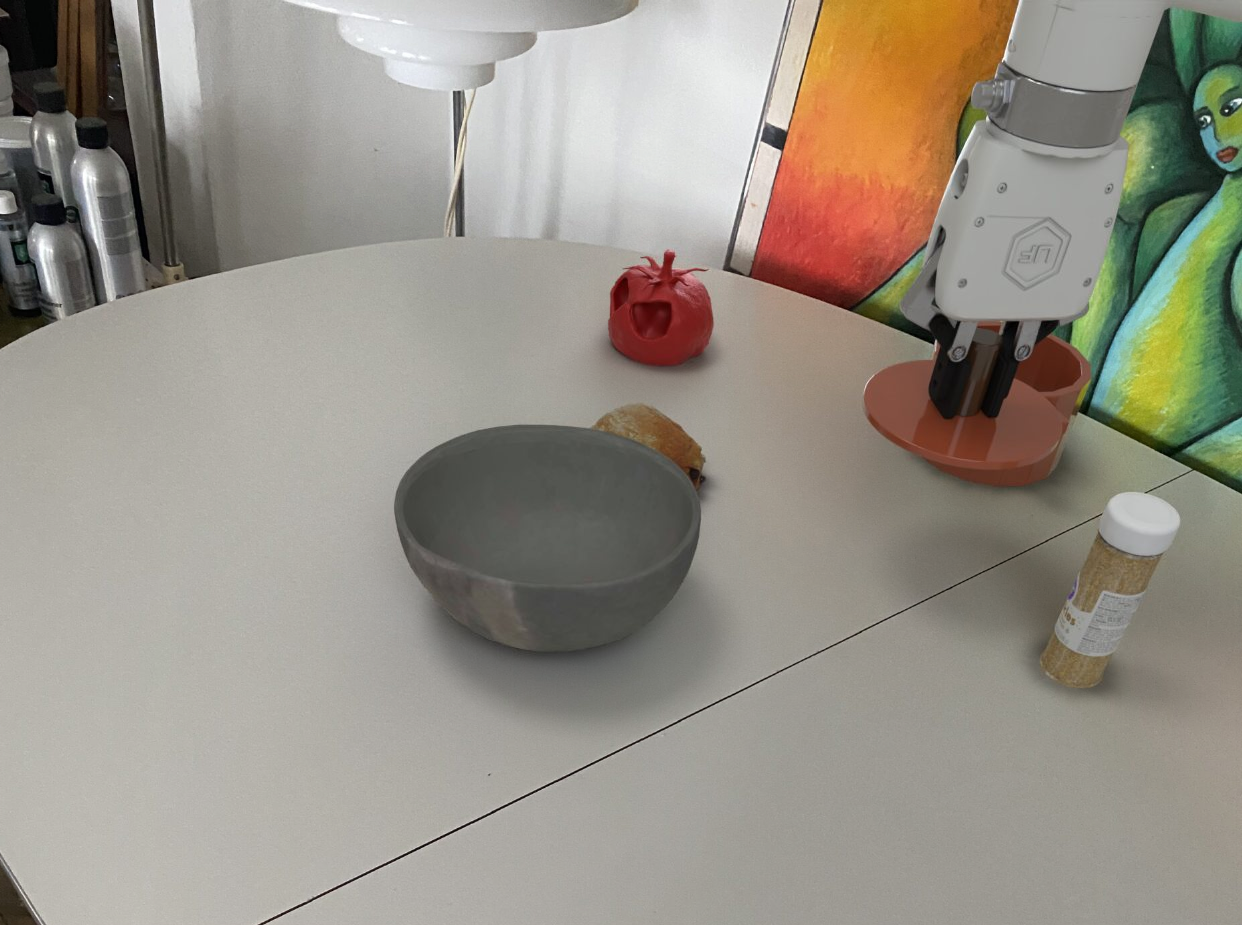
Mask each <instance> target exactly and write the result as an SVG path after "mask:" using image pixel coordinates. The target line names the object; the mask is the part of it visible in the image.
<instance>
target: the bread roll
mask: <svg viewBox="0 0 1242 925" xmlns="http://www.w3.org/2000/svg"><path fill="white" fill-rule="evenodd" d="M589 429H594V430H600V431H604V432H609V433H613V434H616V435H620V436H623V437H626V438H629V439H632V440H635V441H637V442H640V443H642V444H644V445H646V446H649V447H650V448H652V449H654V450H656V451H658V452H660V453H661V454H663V455H664V456H666V457H668V458H669V459H671V460H672V461H673V462H674V463H675V464H677V465H678V466H679V467H680V468H681V469H682V470H683V472H684V473H685V474H686V475H687V476H688V477H689V479H690V480H691V482H692V483H693V485H694V487H695V489H696V491H697V492H698V490H699V489H700V486H701V485H702V484H703V483H705V482H706V476H704V475H702V471H703V468H704V464H705V463H706V462H707V459H706V456H705V455H704V454H703V453H702V450H703V447H702V446H701V445H699V443H698V442H697V441H696V440H695V439H694V438H693V437H692V436H690V435H689V434H688V432H686V431H685V430H684V429H683V427H682V426H681V425H680V424H678V423H677V422H675V421H674V420H672V419H671V418H670V417H668V416H667V415H666V414H664V413H663V412H661V411H660V410H658V409H657V408H656V407H654V406H653V405H651V404H646V403H640V402H639V403H629V404H625V405H622V406H620V407H617V408H614V409H612V410H610V411H608V412H606V413H604V414H603V415H602V416H601V417H600V418H599V419H598V420H597V421H596V422H595V424H594V425H591V427H589Z"/></svg>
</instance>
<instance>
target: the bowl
mask: <svg viewBox="0 0 1242 925" xmlns="http://www.w3.org/2000/svg"><path fill="white" fill-rule="evenodd" d="M393 502H394V503H393V511H394V519H395V525H396V529H397V530H396V531H397V534H398V538H399V541H400V544H401V548H402V550H403V553H404V556H405V557H406V560H407V562H408V564H409V567H410V568H411V570H412V571H413V573H414V575H415V577H416V578H417V579H418V580H419V582H420V583H421V585H422V586H423V587H424V589H425V590H426V591H427V592H428V593H429V594H430V595H431V596H432V598H433V599H434V601H436V602H437V604H438V605H439V606H440V607H441V608H442V609H443V610H444V611H445V612H447V614H449V615H450V616H451V617H452V618H453V619H454V620H455V621H457V622H458V623H459V624H460V625H462V626H463V627H465V628H467V629H469V630H470V631H471V632H473V633H475V634H477V635H479V636H481V637H483V638H485V639H487V640H489V641H491V642H496V643H499V644H502V645H505V646H508V647H510V648H511V647H512V648H515V649H520V650H523V651H524V650H525V651H526V650H527V651H534V652H547V653H548V652H549V653H550V652H551V653H552V652H553V653H557V652H558V653H559V652H572V651H580V650H584V649H585V650H587V649H593V648H597V647H600V646H604V645H607V644H610V643H613V642H616V641H619V640H621V639H624V638H627V637H628V636H630V635H632V634H633V633H636V632H637V631H638V630H640V629H641V628H643V627H644V626H646V625H648V623H650V622H651V621H653V619H654V618H656V617H657V616H658V615H659V614H660V613H661V612H662V611H664V609H665V608H666V607H667V605H668V604H669V603H670V602H671V600H672V599H673V598H674V596H675V595H676V594H677V592H678V591H679V590H680V588H681V586H682V584H683V583H684V580H685V579H686V577H687V575H688V573H689V571H690V568H691V566H692V563H693V560H694V557H695V554H696V551H697V548H698V543H699V540H700V533H701V532H700V531H701V523H702V507H701V501H700V496H699V494H698V490H697V491H696V489H695V487H694V485H693V483H692V482H691V480H690V479H689V477H688V476H687V475H686V474H685V473H684V472H683V470H682V469H681V468H680V467H679V466H678V465H677V464H675V463H674V462H673V461H672V460H671V459H669V458H668V457H666V456H664V455H663V454H661V453H660V452H658V451H656V450H654V449H652V448H650V447H649V446H646V445H644V444H642V443H640V442H637V441H635V440H632V439H629V438H626V437H623V436H620V435H616V434H613V433H609V432H604V431H600V430H594V429H590V427H589V428H588V427H582V426H581V427H580V426H570V425H557V424H511V425H501V426H493V427H488V428H483V429H477V430H473V431H471V432H467V433H464V434H461V435H458V436H455V437H453V438H451V439H449V440H447V441H444V442H442V443H441V444H438V445H436V446H435V447H433V448H432V449H430V450H428V451H426V452H425V453H424V454H422V455H421V456H420V457H419V458H418V459H417V460H416V461H415V462H413V464H412V465H410V467H409V468H408V469H407V470H406V471H405V472H404V475H402V477H401V479H400V480H399V482H398V486H397V487H396V493H395V496H394V500H393Z"/></svg>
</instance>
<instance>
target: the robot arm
mask: <svg viewBox="0 0 1242 925" xmlns="http://www.w3.org/2000/svg"><path fill="white" fill-rule="evenodd" d="M1016 7H1017V8H1016V11H1015V15H1014V19H1013V22H1012V26H1011V29H1010V32H1009V35H1008V36H1009V37H1008V40H1007V43H1006V47H1005V50H1004V54H1003V58H1002V60H1001V61H1000V62H998V65H997V68H996V70H995V75H994V78H989V79H988V81H984V80H983V81H982V80H981V81H980V80H979V81H976V83H975V84H974V86H973V88H972V92H971V96H970V97H971V98H970V100H971V101H970V102H971V107H972V108H973V109H974V110H983V111H984V114H985V115H986V117H985V119H980V120H977V121H975V124H973V127H972V129H971V130H970V133H969V135H968V137H967V139H966V141H965V143H964V145H963V147H962V149H961V152H960V153H959V156H958V158H957V160H956V163H955V165H954V168H953V171H952V173H951V175H950V177H949V180H948V182H947V185H946V187H945V190H944V193H943V196H942V198H941V201H940V203H939V208H938V210H937V212H936V216H935V219H934V222H933V225H932V228H931V231H930V234H929V238H928V240H927V244H926V248H925V251H924V256H923V260H922V263H921V269H920V272H919V273H918V275H917V277H916V278H915V280H914V281H913V282H912V284H911V285H910V287H909V288H908V289H907V291H906V292H905V294H904V295H903V297H902V298H901V300H900V302H899V303H898V307H899V310H900V311H901V312H902V314H903V316H904V317H905V318H906V319H907V320H908V321H910V322H912V323H914V324H915V325H917V326H919V327H921V328H922V329H925V330H927V331H929V332H930V333H931V334H932V336H933V337H934V339H935V340H937V342H938V343H939V345H940V348H939V352H938V355H937V359H936V362H935V366H934V369H933V372H932V376H931V379H930V383H929V388H928V393H929V396H930V399H931V400H932V402H933V403H934V405H935V406H936V408H937V409H938V411H939V412H940V414H941V415H942V417H943V418H944V419H952V418H953V417H955V416H956V414H957V411H958V407H959V404H960V401H961V398H962V395H963V392H964V388H965V385H966V382H967V379H968V376H969V373H970V369H971V363H970V362H969V360H968V359H967V358H966V356H967V353H968V350H969V348H970V345H971V342H972V339H973V336H974V334H975V331H976V328H977V325H978V322H979V321H1000V322H1002V324H1001V328H1000V331H999V335H1001V336H1002V338H1003V343H1002V346H1001V349H1000V353H999V356H998V359H997V362H996V365H995V368H994V371H993V374H992V377H991V380H990V383H989V386H988V389H987V392H986V395H985V398H984V401H983V404H982V407H981V410H982V411H983V412H984V414H985V415H986V416H988V418H995V417H998V415H999V412H1000V409H1001V406H1002V403H1003V400H1004V399H1006V398H1007V396H1008V394H1009V391H1010V388H1011V385H1012V383H1013V380H1014V377H1015V374H1016V371H1017V368H1018V365H1019V362H1020V361H1023V360H1025V359H1027V358H1028V357H1029V356H1030V355H1031V353H1032V350H1033V347H1034V346H1035V345H1037V344H1038V343H1039V342H1040V341H1042V340H1043V339H1044V338H1045V337H1047V336H1048V335H1049V334H1052V333H1053V332H1054V331H1056V329H1057V328H1058V327H1059V328H1061V327H1063V326H1066V325H1068V324H1071V323H1072V322H1074V321H1077V320H1080V319H1081V318H1084V317H1085V316H1086V315H1087V314H1088V312H1089V310H1090V300H1091V297H1092V295H1093V292H1094V290H1095V287H1096V285H1097V282H1098V279H1099V275H1100V273H1101V270H1102V267H1103V264H1104V260H1105V258H1106V255H1107V251H1108V248H1109V245H1110V240H1111V237H1112V233H1113V230H1114V226H1115V223H1116V219H1117V215H1118V211H1119V207H1120V203H1121V199H1122V192H1123V189H1124V182H1125V177H1126V176H1125V175H1126V171H1127V165H1128V160H1129V150H1130V143H1129V141H1127V139H1125V137H1122V136H1121V132H1122V130H1123V127H1124V125H1125V122H1126V119H1127V115H1128V113H1129V110H1130V107H1131V104H1132V102H1133V98H1134V96H1135V93H1136V91H1137V88H1138V84H1139V81H1140V78H1141V76H1142V73H1143V70H1144V67H1145V65H1146V61H1147V59H1148V56H1149V53H1150V51H1151V49H1152V45H1153V43H1154V40H1155V37H1156V34H1157V32H1158V29H1159V26H1160V23H1161V20H1162V18H1163V15H1164V12H1165V11H1166V10H1168V9H1174V8H1175V9H1179V10H1185V11H1189V12H1194V13H1197V14H1202V15H1205V16H1210V17H1214V18H1218V19H1223V20H1226V21H1231V22H1234V23H1239V24H1242V0H1018V4H1017V6H1016ZM934 300H935V304H936V305H934V304H933V302H934Z"/></svg>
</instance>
